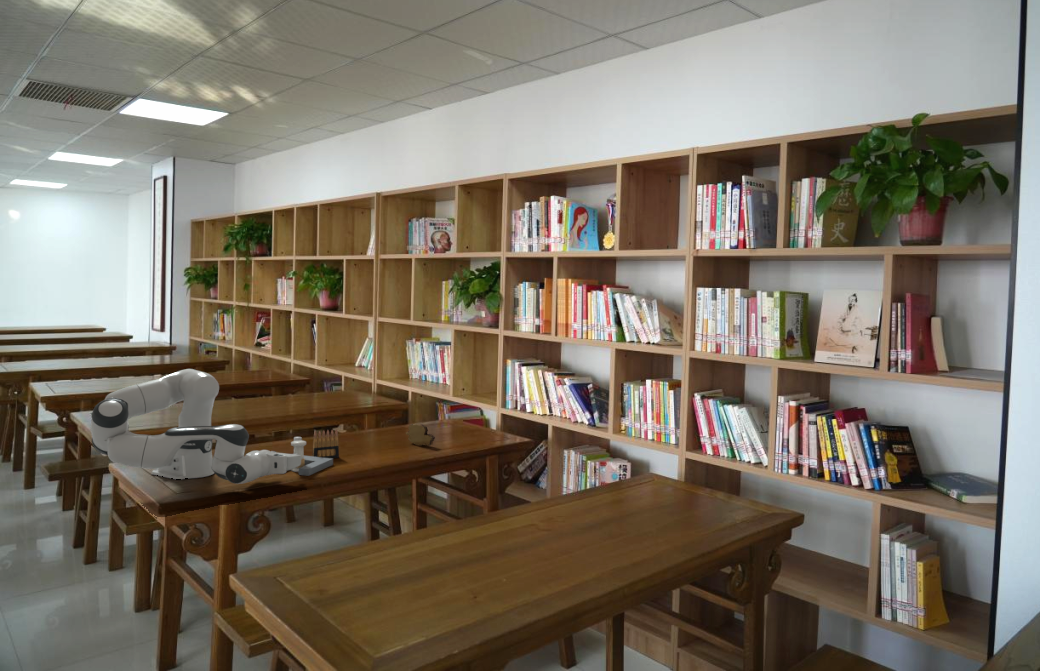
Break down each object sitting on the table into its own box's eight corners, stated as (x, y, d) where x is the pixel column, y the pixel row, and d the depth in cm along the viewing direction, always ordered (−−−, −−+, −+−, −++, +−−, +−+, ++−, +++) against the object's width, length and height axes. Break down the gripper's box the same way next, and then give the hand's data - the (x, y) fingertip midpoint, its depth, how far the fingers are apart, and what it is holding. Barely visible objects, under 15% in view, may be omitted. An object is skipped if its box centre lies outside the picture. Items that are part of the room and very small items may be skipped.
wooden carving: (437, 446, 325) (437, 425, 324) (431, 448, 321) (431, 426, 320) (409, 441, 333) (409, 420, 332) (402, 443, 329) (403, 422, 328)
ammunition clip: (313, 460, 293) (313, 431, 293) (312, 459, 295) (312, 430, 294) (338, 457, 299) (339, 429, 298) (337, 456, 301) (338, 428, 300)
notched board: (271, 471, 274) (271, 444, 273) (297, 460, 291) (298, 435, 291) (308, 475, 270) (308, 448, 269) (332, 464, 287) (333, 438, 287)
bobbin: (288, 471, 276) (288, 443, 275) (296, 467, 281) (296, 440, 280) (300, 472, 274) (301, 444, 273) (308, 468, 280) (309, 441, 279)
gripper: (237, 468, 257) (261, 460, 271) (288, 474, 252) (309, 465, 266) (237, 451, 257) (261, 443, 270) (288, 456, 252) (309, 448, 265)
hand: (285, 454), depth 268 cm, fingers open, 8 cm apart
